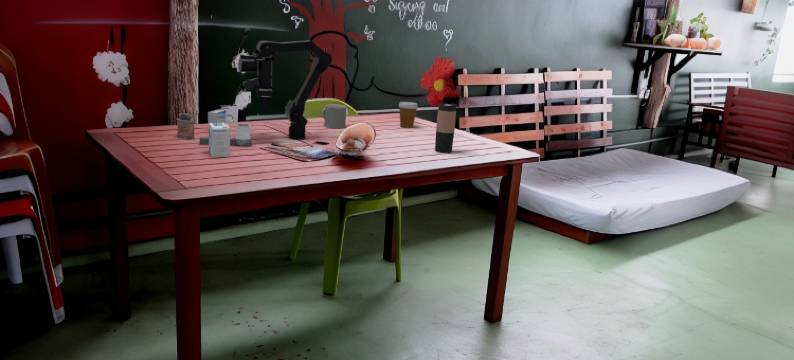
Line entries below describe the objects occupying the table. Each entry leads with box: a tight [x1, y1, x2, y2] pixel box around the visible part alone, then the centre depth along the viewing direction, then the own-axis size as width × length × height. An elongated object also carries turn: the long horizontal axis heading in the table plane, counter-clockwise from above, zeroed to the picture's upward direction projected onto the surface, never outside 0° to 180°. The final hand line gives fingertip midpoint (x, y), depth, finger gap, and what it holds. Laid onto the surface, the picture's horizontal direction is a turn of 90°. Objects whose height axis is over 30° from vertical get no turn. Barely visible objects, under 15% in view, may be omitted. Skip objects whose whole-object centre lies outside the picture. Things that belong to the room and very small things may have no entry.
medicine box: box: [207, 109, 227, 131], centre depth 260 cm, size 8×4×9 cm, turn 168°
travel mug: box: [434, 102, 458, 154], centre depth 251 cm, size 8×8×20 cm
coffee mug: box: [321, 103, 347, 130], centre depth 288 cm, size 13×10×10 cm
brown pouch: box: [176, 112, 196, 140], centre depth 243 cm, size 8×3×10 cm, turn 68°
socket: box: [235, 123, 252, 139], centre depth 238 cm, size 6×6×5 cm
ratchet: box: [199, 136, 253, 148], centre depth 237 cm, size 20×6×6 cm, turn 102°
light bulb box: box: [208, 122, 231, 158], centre depth 222 cm, size 11×7×11 cm, turn 23°
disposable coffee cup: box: [398, 101, 419, 129], centre depth 298 cm, size 10×10×12 cm
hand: (264, 110), depth 249 cm, fingers open, 9 cm apart
